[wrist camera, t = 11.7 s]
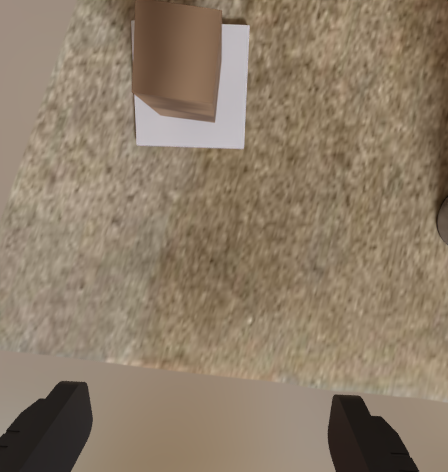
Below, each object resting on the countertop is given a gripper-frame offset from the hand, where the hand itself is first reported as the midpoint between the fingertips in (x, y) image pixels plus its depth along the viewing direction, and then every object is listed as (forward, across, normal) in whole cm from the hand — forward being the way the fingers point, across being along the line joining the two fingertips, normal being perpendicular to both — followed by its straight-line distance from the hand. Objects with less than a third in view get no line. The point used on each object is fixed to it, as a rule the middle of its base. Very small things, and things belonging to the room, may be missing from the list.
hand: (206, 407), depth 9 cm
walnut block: (+26, +4, -15) cm, 30 cm away
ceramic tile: (+27, +4, -15) cm, 31 cm away
